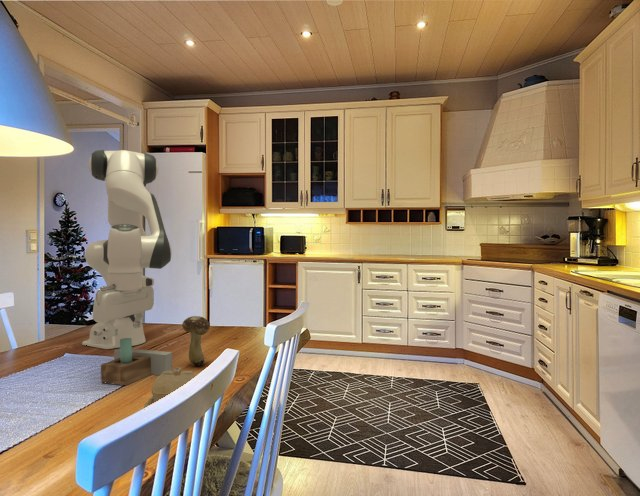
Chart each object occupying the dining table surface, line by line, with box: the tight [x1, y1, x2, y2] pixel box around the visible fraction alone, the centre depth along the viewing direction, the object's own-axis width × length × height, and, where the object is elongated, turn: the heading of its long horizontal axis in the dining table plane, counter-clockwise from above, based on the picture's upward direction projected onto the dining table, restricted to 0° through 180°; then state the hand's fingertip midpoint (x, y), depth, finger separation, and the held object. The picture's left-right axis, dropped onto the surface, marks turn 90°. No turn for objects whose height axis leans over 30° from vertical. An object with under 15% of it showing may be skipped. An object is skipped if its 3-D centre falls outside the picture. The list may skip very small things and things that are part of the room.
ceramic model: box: [143, 367, 197, 409], centre depth 94 cm, size 14×11×10 cm
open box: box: [100, 355, 152, 386], centre depth 116 cm, size 8×10×5 cm
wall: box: [113, 348, 173, 376], centre depth 122 cm, size 18×3×6 cm, turn 73°
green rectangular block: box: [119, 338, 133, 364], centre depth 116 cm, size 3×3×10 cm
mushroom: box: [181, 315, 211, 367], centre depth 128 cm, size 9×9×15 cm
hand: (125, 331), depth 117 cm, fingers open, 8 cm apart
